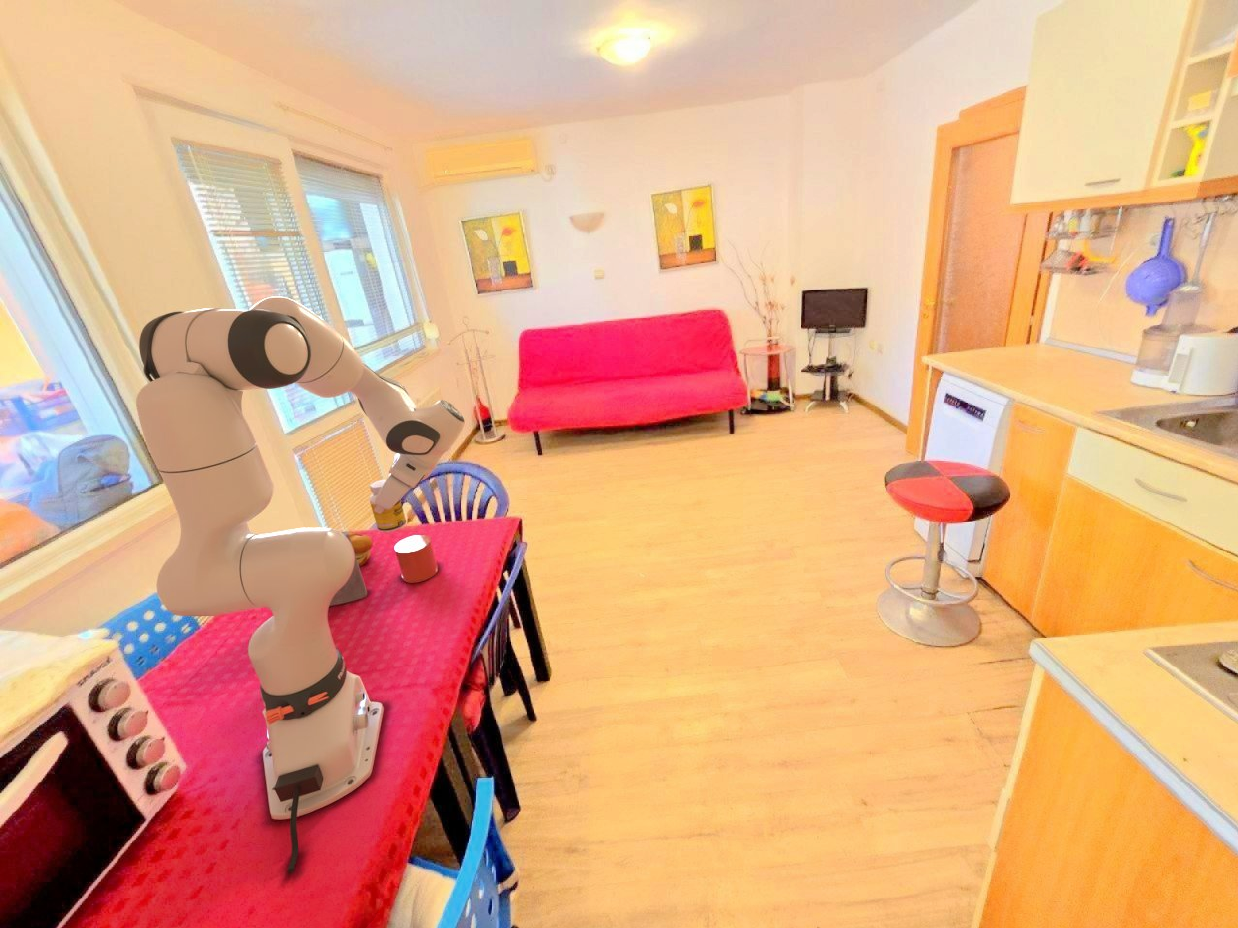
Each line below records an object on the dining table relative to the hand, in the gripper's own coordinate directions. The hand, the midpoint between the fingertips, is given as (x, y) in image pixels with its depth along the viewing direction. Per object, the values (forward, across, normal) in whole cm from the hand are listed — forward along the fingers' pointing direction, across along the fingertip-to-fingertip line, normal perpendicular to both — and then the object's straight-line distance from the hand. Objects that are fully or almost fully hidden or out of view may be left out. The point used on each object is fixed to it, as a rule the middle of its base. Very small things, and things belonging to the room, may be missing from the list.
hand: (383, 503), depth 121 cm
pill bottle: (+4, 0, +5) cm, 7 cm away
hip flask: (+29, +3, +5) cm, 30 cm away
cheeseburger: (+31, -16, +3) cm, 35 cm away
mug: (+16, -7, +18) cm, 25 cm away
